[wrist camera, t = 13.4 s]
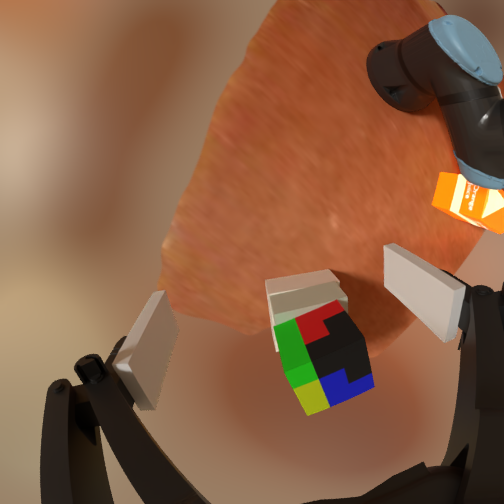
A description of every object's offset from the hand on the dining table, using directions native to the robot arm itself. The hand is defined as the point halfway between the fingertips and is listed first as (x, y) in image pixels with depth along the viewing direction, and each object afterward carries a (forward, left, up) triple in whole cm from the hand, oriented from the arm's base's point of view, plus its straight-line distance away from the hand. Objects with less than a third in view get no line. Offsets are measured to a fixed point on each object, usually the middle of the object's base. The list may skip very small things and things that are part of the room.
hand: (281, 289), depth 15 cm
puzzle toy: (-6, +19, -20) cm, 28 cm away
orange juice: (-43, +2, -31) cm, 53 cm away
